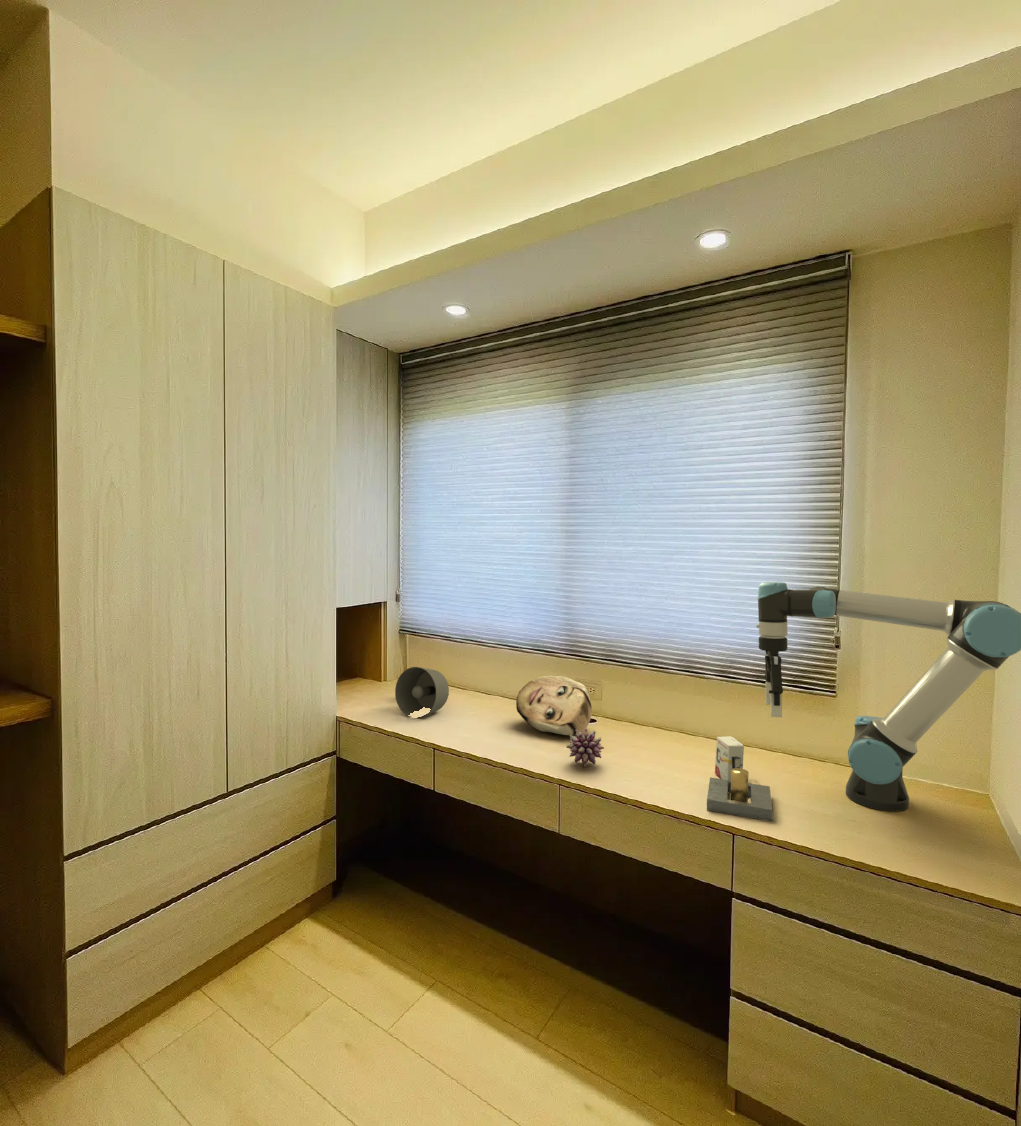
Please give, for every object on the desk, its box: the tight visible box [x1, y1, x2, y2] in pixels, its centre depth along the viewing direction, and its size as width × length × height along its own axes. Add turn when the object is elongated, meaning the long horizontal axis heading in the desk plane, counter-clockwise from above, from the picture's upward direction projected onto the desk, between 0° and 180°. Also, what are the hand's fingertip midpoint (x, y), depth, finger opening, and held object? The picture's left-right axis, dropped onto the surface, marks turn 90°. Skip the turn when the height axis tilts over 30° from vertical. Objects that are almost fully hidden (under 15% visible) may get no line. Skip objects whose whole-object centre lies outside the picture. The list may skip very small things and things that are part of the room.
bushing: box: [730, 768, 750, 803], centre depth 161 cm, size 4×4×9 cm
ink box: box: [714, 735, 745, 780], centre depth 178 cm, size 9×5×12 cm, turn 6°
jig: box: [706, 777, 773, 822], centre depth 161 cm, size 16×16×3 cm
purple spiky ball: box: [566, 727, 605, 768], centre depth 187 cm, size 12×12×12 cm
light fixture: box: [394, 666, 450, 719], centre depth 249 cm, size 20×25×27 cm
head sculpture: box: [515, 674, 593, 736], centre depth 225 cm, size 23×17×28 cm
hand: (773, 710), depth 168 cm, fingers open, 13 cm apart
